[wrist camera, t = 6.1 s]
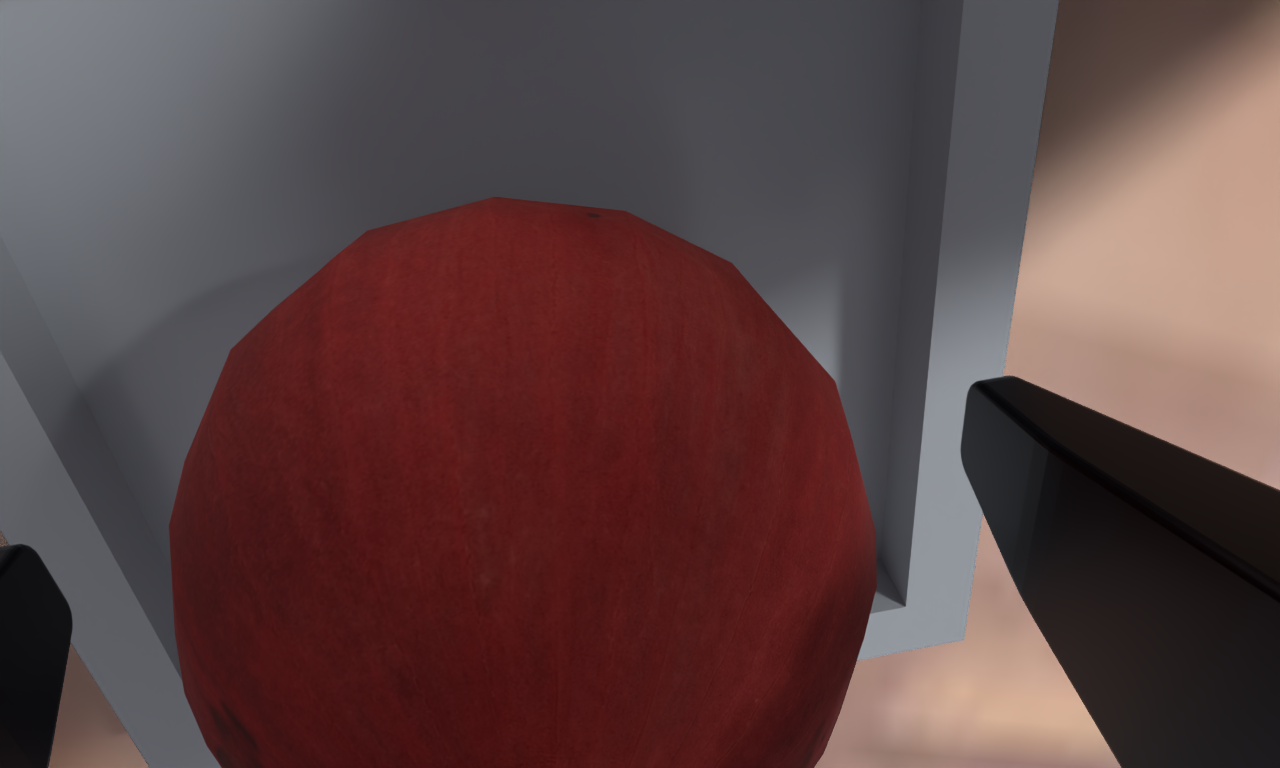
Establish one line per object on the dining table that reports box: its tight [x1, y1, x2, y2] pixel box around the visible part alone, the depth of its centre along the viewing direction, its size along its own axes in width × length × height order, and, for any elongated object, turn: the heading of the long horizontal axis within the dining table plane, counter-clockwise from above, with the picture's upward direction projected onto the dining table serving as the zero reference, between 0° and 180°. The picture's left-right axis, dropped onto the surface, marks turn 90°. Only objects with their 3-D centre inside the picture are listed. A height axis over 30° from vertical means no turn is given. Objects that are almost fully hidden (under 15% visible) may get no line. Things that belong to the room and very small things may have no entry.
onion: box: [169, 197, 877, 768], centre depth 8 cm, size 6×6×8 cm
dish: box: [0, 0, 1059, 768], centre depth 12 cm, size 12×12×2 cm
